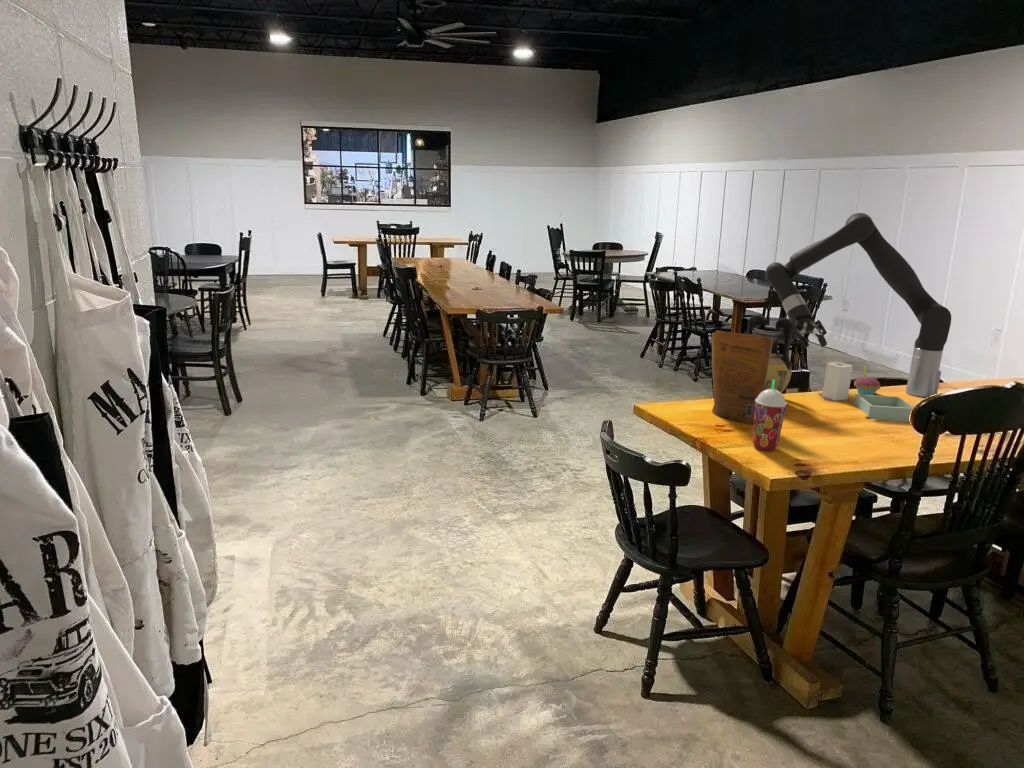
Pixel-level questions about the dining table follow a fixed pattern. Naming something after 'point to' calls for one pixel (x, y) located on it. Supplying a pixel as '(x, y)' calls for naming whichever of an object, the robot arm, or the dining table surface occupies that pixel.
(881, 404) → the tray
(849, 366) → the sleeve
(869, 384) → the cupcake
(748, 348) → the pancake mix bag
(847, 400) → the base
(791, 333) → the amphora
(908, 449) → the dining table surface
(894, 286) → the robot arm
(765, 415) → the smoothie
